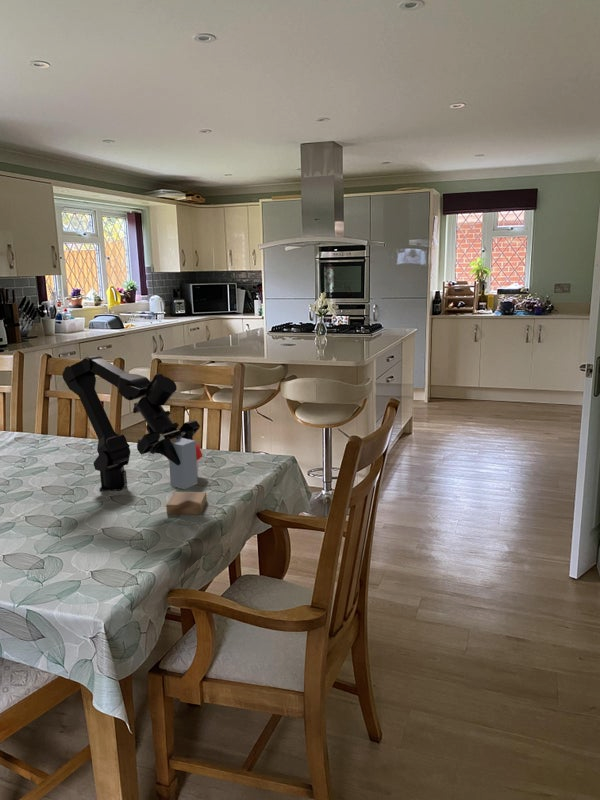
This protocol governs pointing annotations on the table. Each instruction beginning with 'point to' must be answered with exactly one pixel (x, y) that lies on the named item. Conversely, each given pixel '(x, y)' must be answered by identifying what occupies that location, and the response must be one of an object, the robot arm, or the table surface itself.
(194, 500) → the pedestal
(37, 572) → the table surface
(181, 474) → the pillar
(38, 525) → the table surface
